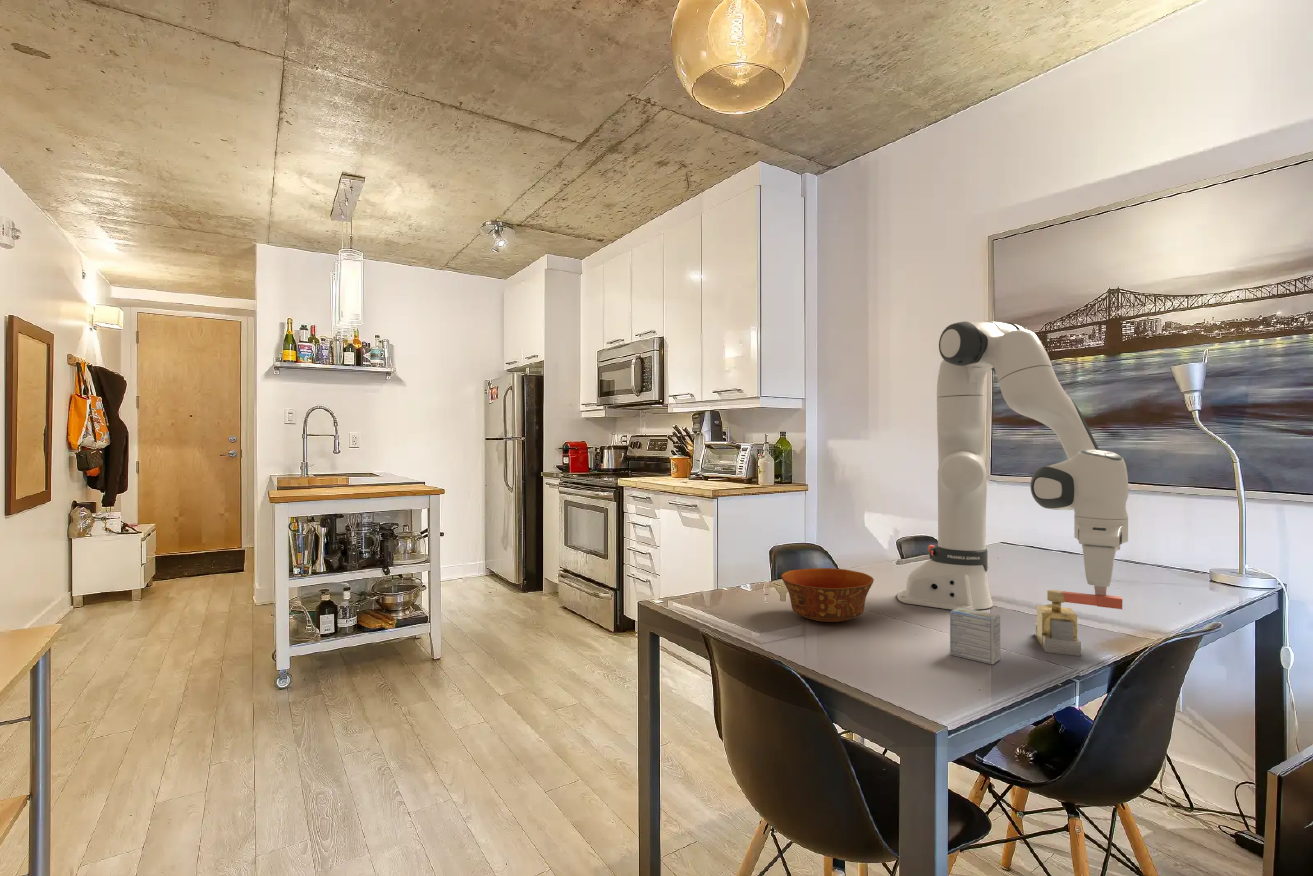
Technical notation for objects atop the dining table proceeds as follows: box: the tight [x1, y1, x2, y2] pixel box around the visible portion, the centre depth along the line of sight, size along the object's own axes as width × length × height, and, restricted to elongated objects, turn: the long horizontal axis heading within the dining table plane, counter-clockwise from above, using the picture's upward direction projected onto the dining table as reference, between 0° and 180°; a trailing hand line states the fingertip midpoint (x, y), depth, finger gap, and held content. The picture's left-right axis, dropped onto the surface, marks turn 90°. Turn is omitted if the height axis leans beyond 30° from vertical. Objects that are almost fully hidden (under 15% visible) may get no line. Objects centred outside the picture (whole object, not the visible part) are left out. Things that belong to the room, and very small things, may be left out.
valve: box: [1034, 601, 1082, 657], centre depth 129 cm, size 12×6×9 cm, turn 157°
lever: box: [1046, 589, 1123, 610], centre depth 127 cm, size 12×3×2 cm, turn 57°
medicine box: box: [949, 608, 1002, 665], centre depth 122 cm, size 8×4×9 cm, turn 44°
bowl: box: [780, 567, 875, 623], centre depth 148 cm, size 21×21×10 cm
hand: (1100, 600), depth 127 cm, fingers closed, pressing on lever
